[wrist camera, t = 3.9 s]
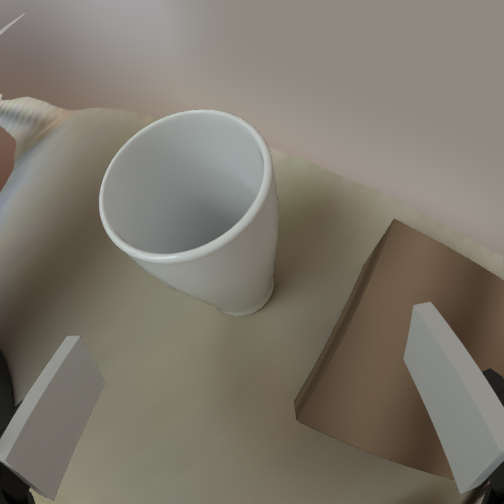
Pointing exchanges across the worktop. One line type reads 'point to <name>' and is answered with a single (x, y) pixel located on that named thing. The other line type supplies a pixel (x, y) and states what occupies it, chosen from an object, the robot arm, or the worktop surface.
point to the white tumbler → (197, 207)
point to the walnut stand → (399, 348)
